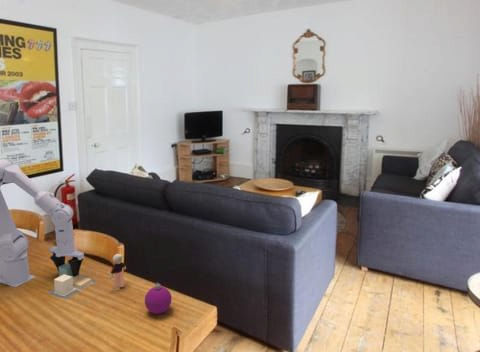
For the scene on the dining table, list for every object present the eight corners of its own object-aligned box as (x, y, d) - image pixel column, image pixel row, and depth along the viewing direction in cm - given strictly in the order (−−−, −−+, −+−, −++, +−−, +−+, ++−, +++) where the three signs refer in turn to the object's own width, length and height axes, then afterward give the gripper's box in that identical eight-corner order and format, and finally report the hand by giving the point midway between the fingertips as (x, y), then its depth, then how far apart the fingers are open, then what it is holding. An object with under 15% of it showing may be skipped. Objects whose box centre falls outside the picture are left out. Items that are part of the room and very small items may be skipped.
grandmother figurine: (119, 293, 124) (117, 259, 121) (108, 292, 125) (106, 258, 122) (130, 282, 132) (128, 250, 129) (120, 281, 132) (118, 249, 130)
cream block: (55, 292, 123) (53, 279, 122) (65, 287, 127) (63, 274, 126) (63, 295, 122) (62, 282, 121) (73, 290, 125) (72, 276, 124)
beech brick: (63, 284, 129) (63, 280, 128) (75, 278, 133) (74, 274, 133) (80, 289, 126) (80, 285, 125) (91, 283, 130) (91, 279, 130)
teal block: (59, 279, 133) (58, 266, 132) (68, 274, 137) (67, 262, 135) (67, 281, 131) (66, 269, 130) (76, 277, 135) (75, 264, 134)
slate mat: (46, 293, 123) (46, 293, 123) (79, 275, 136) (79, 275, 136) (66, 300, 120) (65, 299, 120) (98, 281, 132) (98, 280, 132)
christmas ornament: (139, 313, 114) (138, 283, 111) (159, 301, 120) (158, 273, 118) (158, 322, 109) (157, 292, 107) (177, 309, 116) (176, 281, 114)
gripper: (40, 240, 130) (45, 275, 133) (71, 246, 124) (75, 282, 127) (57, 233, 136) (60, 266, 139) (87, 239, 131) (90, 274, 134)
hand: (68, 274), depth 134 cm, fingers open, 6 cm apart
